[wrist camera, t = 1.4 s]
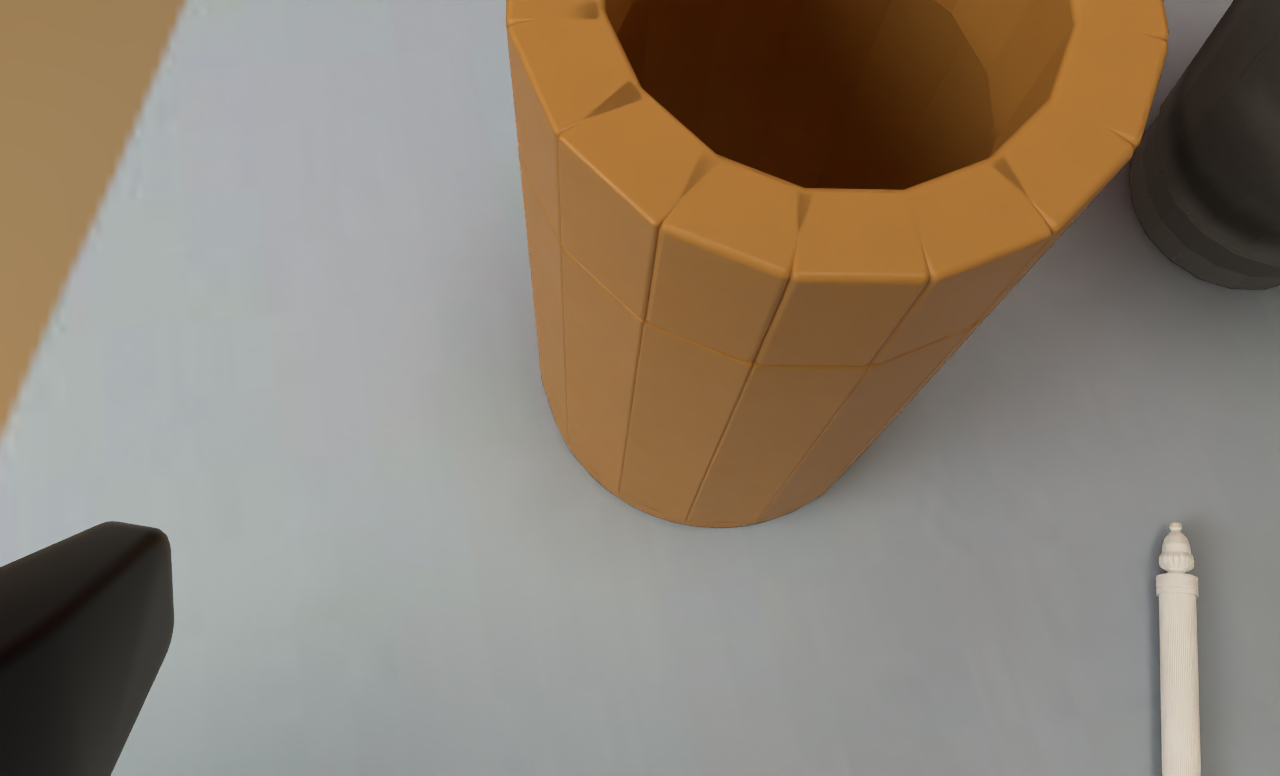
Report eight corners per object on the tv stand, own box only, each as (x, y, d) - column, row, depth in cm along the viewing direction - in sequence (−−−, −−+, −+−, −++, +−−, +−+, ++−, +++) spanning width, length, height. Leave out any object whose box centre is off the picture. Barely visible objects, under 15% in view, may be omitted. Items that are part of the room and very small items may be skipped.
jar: (815, 583, 22) (1069, 389, 11) (487, 448, 22) (392, 124, 11) (923, 279, 24) (1232, -157, 13) (620, 163, 25) (656, -358, 13)
